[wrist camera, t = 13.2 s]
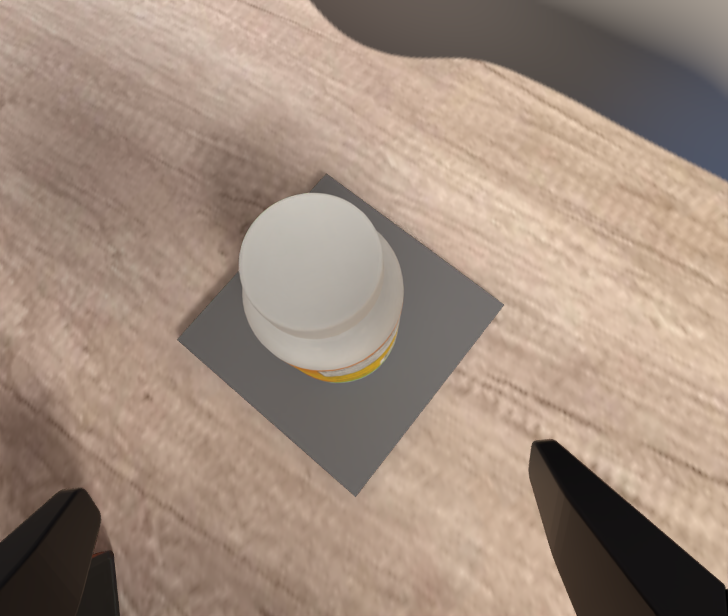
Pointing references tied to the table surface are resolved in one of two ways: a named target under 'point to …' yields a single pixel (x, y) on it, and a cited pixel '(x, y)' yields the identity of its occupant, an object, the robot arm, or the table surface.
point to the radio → (100, 588)
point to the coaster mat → (363, 396)
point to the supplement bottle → (321, 287)
